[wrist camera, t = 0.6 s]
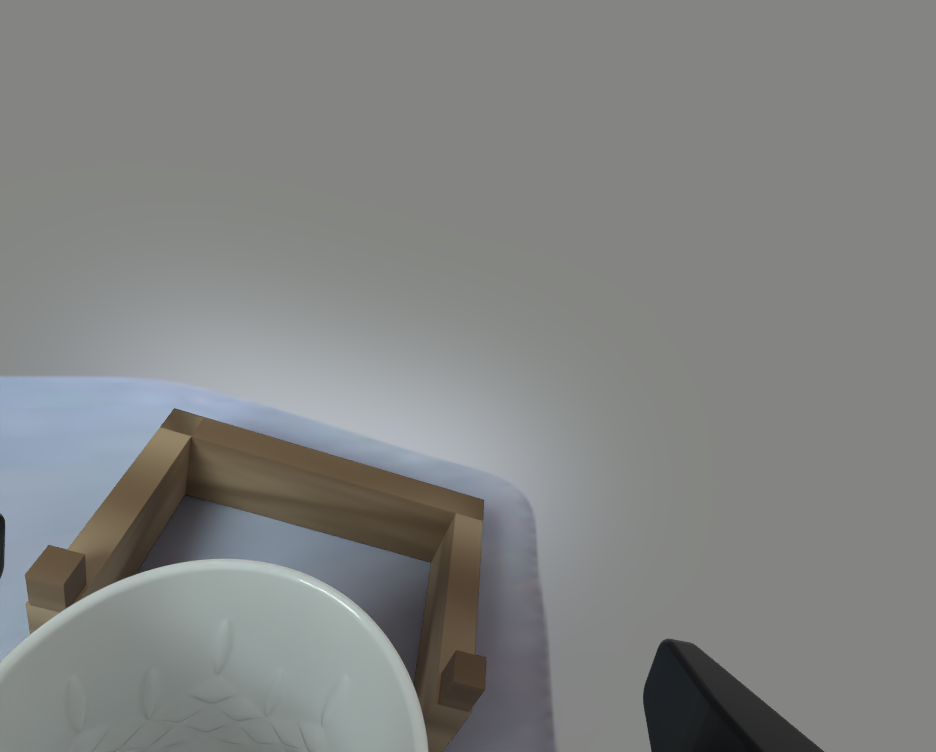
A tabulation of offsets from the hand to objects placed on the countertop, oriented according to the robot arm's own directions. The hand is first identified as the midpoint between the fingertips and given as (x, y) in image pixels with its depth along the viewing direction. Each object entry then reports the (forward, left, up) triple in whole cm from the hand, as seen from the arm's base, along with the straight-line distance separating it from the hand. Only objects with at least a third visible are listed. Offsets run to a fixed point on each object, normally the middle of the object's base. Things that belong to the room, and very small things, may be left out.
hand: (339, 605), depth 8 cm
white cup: (0, +1, -15) cm, 15 cm away
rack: (+9, +1, -15) cm, 17 cm away
